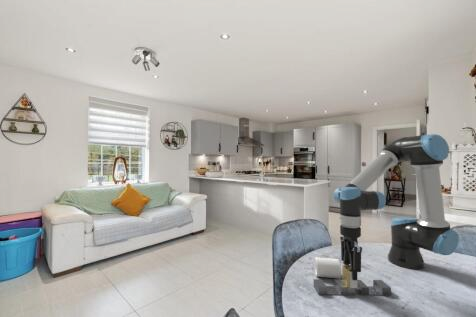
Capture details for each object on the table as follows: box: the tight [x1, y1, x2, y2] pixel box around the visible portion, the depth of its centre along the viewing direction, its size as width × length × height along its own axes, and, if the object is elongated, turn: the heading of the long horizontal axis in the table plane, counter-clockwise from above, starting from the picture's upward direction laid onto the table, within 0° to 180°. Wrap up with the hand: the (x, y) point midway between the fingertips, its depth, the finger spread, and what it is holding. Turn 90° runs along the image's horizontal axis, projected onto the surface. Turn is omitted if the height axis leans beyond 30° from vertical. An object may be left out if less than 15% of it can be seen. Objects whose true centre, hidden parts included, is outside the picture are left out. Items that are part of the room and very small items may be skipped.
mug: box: [314, 256, 342, 280], centre depth 105 cm, size 12×10×8 cm
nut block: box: [341, 264, 351, 288], centre depth 91 cm, size 4×4×7 cm
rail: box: [313, 278, 392, 297], centre depth 91 cm, size 28×6×3 cm, turn 89°
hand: (350, 284), depth 91 cm, fingers closed on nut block, 4 cm apart
